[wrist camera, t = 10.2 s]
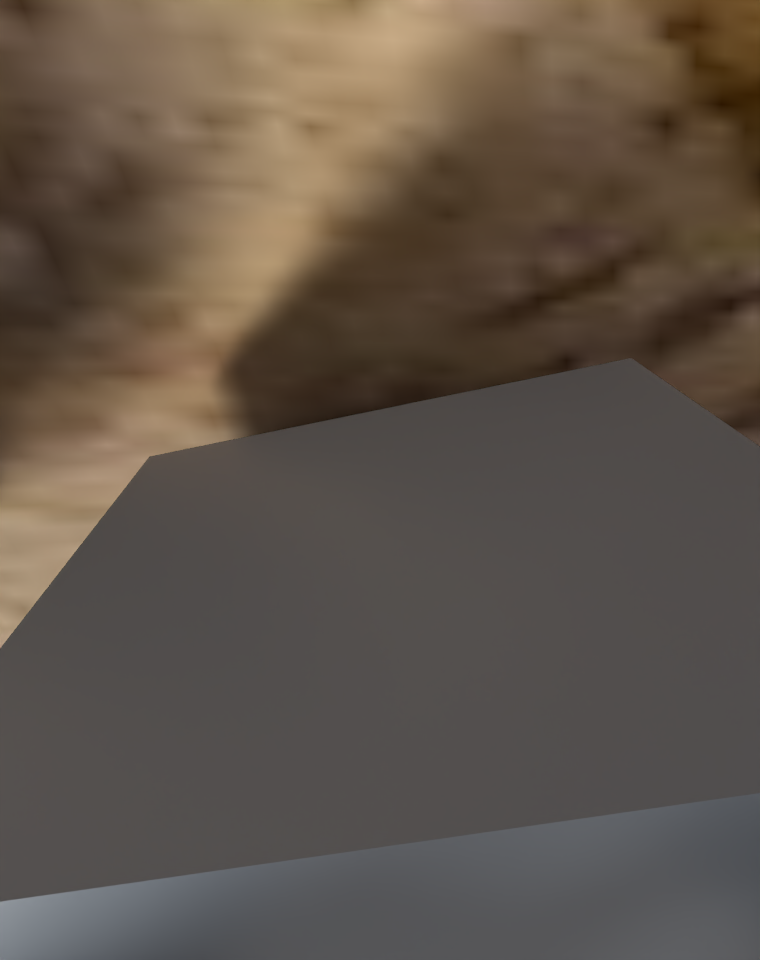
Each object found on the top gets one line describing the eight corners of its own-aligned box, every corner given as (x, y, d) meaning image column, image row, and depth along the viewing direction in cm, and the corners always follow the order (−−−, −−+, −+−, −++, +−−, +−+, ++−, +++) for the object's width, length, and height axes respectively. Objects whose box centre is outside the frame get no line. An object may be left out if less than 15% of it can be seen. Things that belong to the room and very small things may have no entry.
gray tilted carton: (149, 457, 12) (-222, 934, 5) (630, 358, 12) (1178, 732, 4) (284, 761, 17) (213, 1251, 9) (633, 706, 16) (877, 1192, 8)
